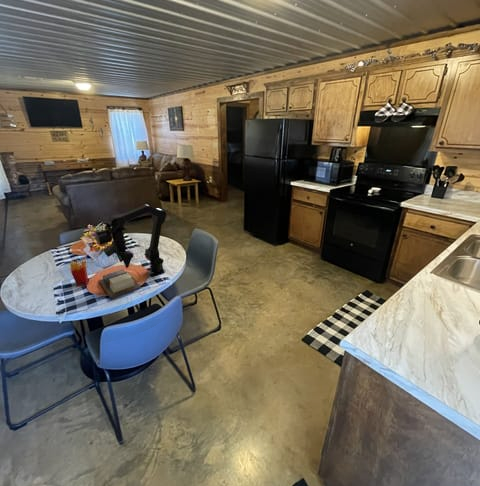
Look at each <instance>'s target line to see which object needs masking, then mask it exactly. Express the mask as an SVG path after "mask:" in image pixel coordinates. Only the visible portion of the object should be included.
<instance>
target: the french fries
mask: <svg viewBox="0 0 480 486" xmlns="http://www.w3.org/2000/svg"><path fill="white" fill-rule="evenodd" d="M87 262H88V260H87V259H85V260H84V259H83V260H82V261H81V260H79V259H77V260H76V261H73V260H71V261H70V264H69V265H70V268H69V271H70V273H71V276H72V278H73V280H74V282H75V284H76V287H79V286H84V285H85V286H86V285H88V281H89V278H88V272H87V271H88V270H87V265H86V263H87Z"/></svg>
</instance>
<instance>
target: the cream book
mask: <svg viewBox="0 0 480 486" xmlns="http://www.w3.org/2000/svg"><path fill="white" fill-rule="evenodd" d="M129 274H130V272H128V273H126V274H123V275H120V276H117V277H114V278H111V279H109V280H110V283H111V284H112V286H113V287H115V286H118V285H121V284H123V283H126V282H129V281H132V277H133V276H132V275H131V274H130V275H131V276H132V277H131V276H130V275H129Z"/></svg>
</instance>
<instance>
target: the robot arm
mask: <svg viewBox="0 0 480 486" xmlns="http://www.w3.org/2000/svg"><path fill="white" fill-rule="evenodd" d="M145 214H151V220H152V228H151V229H152V230H151V236H150V243H149V247H148V248H145V249H144V250H145V251H144V258H145V259H146V260H147V261H149V262H150V263H149V264H150V265H149V269H150V272H151V273H152V274H153V275H158V274H161V273H163V272H165V269H164V267H163V265H164V261H165V260H164V259H163V258H161V257H160V251H159V244H160V238H161V232H162V226H163V224H164V223H165V221H166V219H167V212H166V211H165V210H163V209H162V208H158V207H156V208H155V207H153V206H151V205H149V204H143V205H140V206H139V207H136V208H133V209H131V210H129V211H126V212H124V213H117V214H112V215H109V216H108V218H107V222H106V224H105V226H104V229H102V230H98V231H95V234H94V236H95V237H94V238H95V242H96V243H97V245H98V246H101V245H104V244H107V243H111V244H109V245H108V246H106V247H104V248H103V249H102V251H103V253H104V254H105V255H106V257H107V258H110V257H111V256H113V255H114V254H115V255H116V258H117V259H118V261H119V262H120V263H123V264H124V267H125V268H126V269H128V268H129V267H130V263H131V261H132V259H133V258H134V252H132V251H131V250H128V249H129V247H127V240H126V238H125V234H124V231H126V230H128V228H127V227H125V225H126V224H127V223H129V222H130V221H132V220H134V219H136V218H138V217H141V216H143V215H145Z"/></svg>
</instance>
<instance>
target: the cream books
mask: <svg viewBox="0 0 480 486" xmlns="http://www.w3.org/2000/svg"><path fill="white" fill-rule="evenodd" d="M132 286H134V281H133V279H132V281H129V282H126V283H123V284H121V285H118V286H115V287H113V286H112V284H111V283H110V289H111V290H112V291H113V293H115V292H118V291H121V290H124V289H126V288H129V287H132Z"/></svg>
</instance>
